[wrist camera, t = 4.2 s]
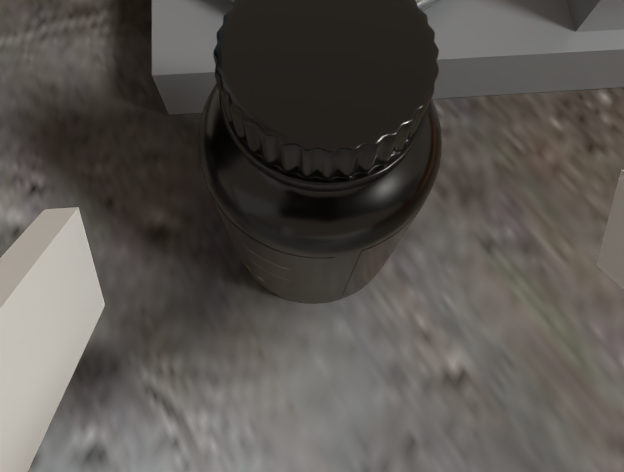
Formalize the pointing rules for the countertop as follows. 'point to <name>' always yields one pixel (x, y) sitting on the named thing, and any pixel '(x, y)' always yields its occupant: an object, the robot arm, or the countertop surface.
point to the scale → (448, 37)
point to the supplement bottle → (320, 138)
